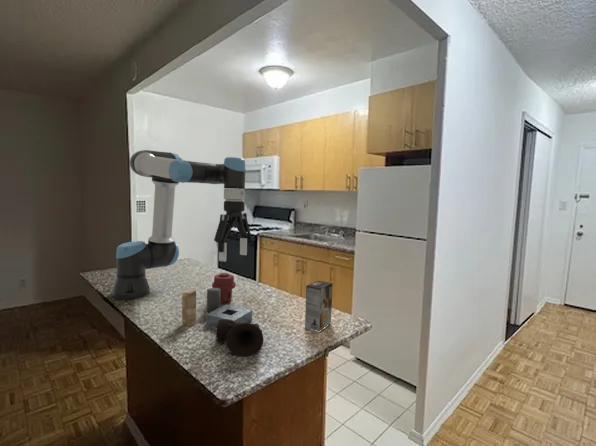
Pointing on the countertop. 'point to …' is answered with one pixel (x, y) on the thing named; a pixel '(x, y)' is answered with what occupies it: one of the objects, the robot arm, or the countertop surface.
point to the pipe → (240, 337)
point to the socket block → (228, 315)
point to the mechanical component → (224, 286)
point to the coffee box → (318, 305)
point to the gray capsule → (213, 299)
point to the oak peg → (188, 307)
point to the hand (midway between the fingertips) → (233, 257)
